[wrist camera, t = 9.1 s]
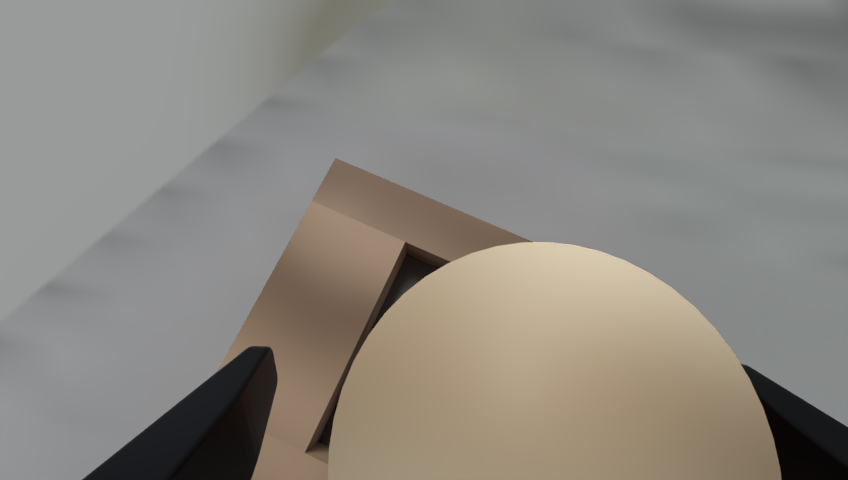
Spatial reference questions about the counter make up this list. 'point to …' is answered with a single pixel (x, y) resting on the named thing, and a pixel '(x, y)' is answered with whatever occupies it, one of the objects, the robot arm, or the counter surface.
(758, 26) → the counter surface
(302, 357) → the brown wooden flat piece
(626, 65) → the counter surface
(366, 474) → the beige rounded piece
